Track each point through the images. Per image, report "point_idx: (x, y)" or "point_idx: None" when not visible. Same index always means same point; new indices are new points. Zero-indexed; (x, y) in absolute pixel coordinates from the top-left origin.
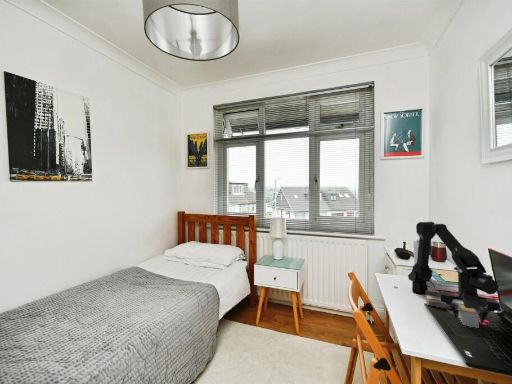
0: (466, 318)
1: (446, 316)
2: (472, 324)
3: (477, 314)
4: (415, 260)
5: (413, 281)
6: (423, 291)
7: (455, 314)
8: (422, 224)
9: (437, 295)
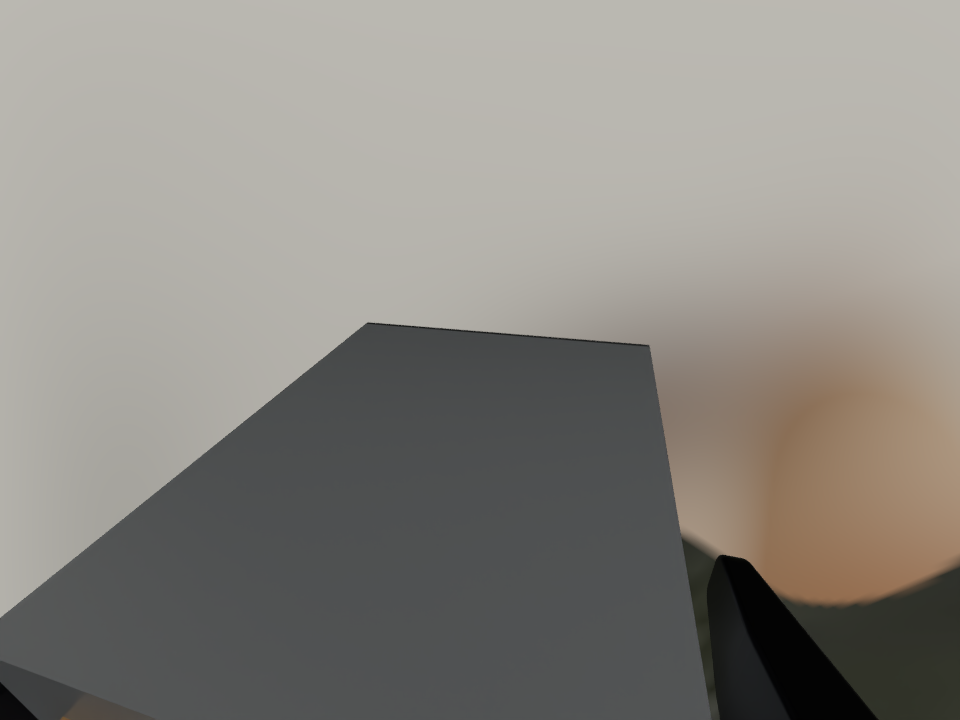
0: (539, 482)
1: (841, 632)
2: (436, 367)
3: (12, 648)
4: None
5: None
6: None
7: (798, 674)
8: None
9: None
